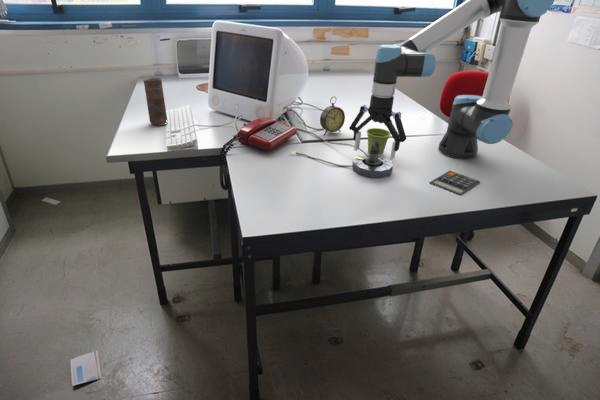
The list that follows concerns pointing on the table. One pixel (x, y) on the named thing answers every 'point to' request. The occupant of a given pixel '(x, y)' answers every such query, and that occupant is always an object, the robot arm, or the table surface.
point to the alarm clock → (332, 118)
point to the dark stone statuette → (374, 155)
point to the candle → (155, 101)
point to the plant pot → (378, 138)
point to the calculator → (455, 182)
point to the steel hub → (372, 172)
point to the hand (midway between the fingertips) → (374, 154)
